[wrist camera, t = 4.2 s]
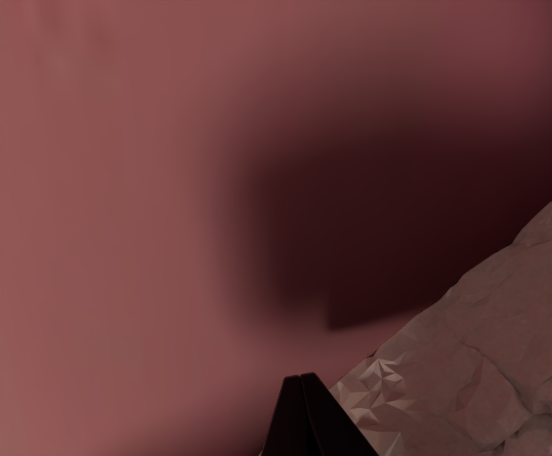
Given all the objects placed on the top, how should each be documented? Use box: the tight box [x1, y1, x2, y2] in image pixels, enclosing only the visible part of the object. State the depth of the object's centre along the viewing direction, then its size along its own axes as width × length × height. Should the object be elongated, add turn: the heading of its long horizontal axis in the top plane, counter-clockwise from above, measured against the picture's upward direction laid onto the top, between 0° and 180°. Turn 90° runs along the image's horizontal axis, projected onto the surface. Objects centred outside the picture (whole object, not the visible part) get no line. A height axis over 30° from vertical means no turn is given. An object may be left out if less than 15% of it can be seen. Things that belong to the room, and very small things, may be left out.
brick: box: [258, 201, 552, 456], centre depth 8 cm, size 17×8×5 cm, turn 137°
